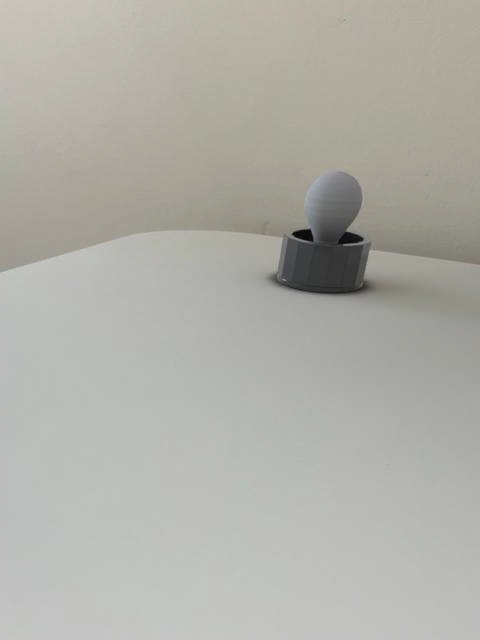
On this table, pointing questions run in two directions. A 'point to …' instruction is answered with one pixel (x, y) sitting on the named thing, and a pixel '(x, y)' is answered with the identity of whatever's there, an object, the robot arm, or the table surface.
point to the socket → (323, 261)
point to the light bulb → (332, 206)
